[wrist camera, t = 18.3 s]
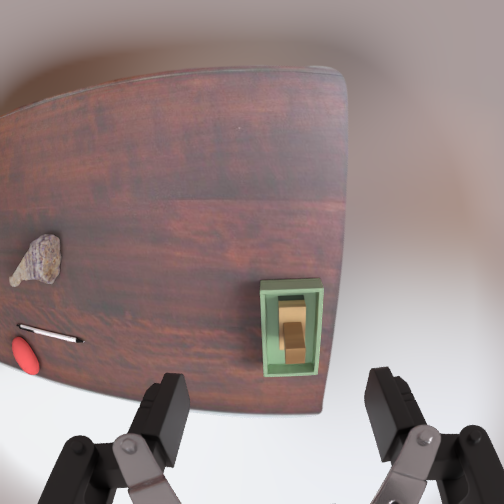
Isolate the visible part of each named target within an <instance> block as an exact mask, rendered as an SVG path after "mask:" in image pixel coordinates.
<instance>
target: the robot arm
mask: <svg viewBox="0 0 504 504" xmlns="http://www.w3.org/2000/svg"><path fill="white" fill-rule="evenodd" d="M364 399H365V400H364V401H365V407H366V410H367V413H368V416H369V420H370V423H371V426H372V429H373V433H374V436H375V440H376V443H377V447H378V450H379V454H380V457H381V461H382V462H387V461H391V465H392V467H391V469H390V471H389V473H388V474H387V476H386V478H385V480H384V482H383V483H382V485H381V487H380V489H379V490H378V492H377V494H376V496H375V497H374V499H373V500H372V502H371V503H370V504H418V503H419V501H420V499H421V497H422V495H423V492H424V490H425V488H426V485H427V481H426V480H436V482H437V486H438V489H439V492H440V496H441V500H442V504H504V469H503V467H502V464H501V462H500V460H499V458H498V455H497V453H496V451H495V449H494V447H493V445H492V443H491V440H490V438H489V436H488V434H487V432H486V431H485V430H484V429H483V428H482V427H480V426H476V425H469V426H466V427H465V428H463V429H462V430H461V432H460V434H441V433H439V431H438V430H437V429H436V428H434V427H432V426H429V425H427V423H426V421H425V419H424V417H423V415H422V413H421V410H420V408H419V406H418V404H417V402H416V400H415V398H414V396H413V394H412V393H411V390H410V388H409V386H408V384H407V382H405V381H404V380H403V379H402V378H400V376H397V377H393V375H392V373H391V371H390V369H389V368H388V367H380V368H372V369H371V370H370V373H369V377H368V382H367V386H366V390H365V395H364ZM189 409H190V398H189V394H188V390H187V386H186V382H185V378H184V375H183V374H177V373H165V374H164V377H163V379H162V381H161V384H159V383H154V384H153V385H152V386H151V387H150V388H149V389H147V390H146V393H145V395H144V397H143V401H141V404H140V408H138V411H137V413H136V415H135V417H134V420H133V422H132V424H131V427H130V429H129V431H128V433H127V434H123V435H121V436H119V437H118V438H117V439H116V440H115V441H114V442H113V443H101V444H94V443H93V442H92V441H91V440H90V439H89V438H88V437H86V436H81V435H79V436H74V437H72V438H70V439H69V440H68V441H67V442H66V443H65V445H64V447H63V449H62V451H61V453H60V455H59V457H58V459H57V461H56V464H55V466H54V468H53V470H52V472H51V474H50V477H49V479H48V481H47V483H46V486H45V488H44V490H43V492H42V495H41V497H40V499H39V502H38V504H112V503H113V499H114V496H115V492H116V489H117V488H127V487H128V488H129V489H128V493H129V495H130V498H131V500H132V502H133V504H181V502H180V501H179V499H178V497H177V496H176V494H175V493H174V491H173V489H172V488H171V486H170V484H169V483H168V481H167V479H166V478H165V476H164V475H163V473H164V469H165V467H172V468H173V467H174V464H175V461H176V457H177V453H178V449H179V446H180V442H181V439H182V435H183V431H184V428H185V424H186V421H187V417H188V413H189Z"/></svg>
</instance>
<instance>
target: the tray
mask: <svg viewBox="0 0 504 504" xmlns="http://www.w3.org/2000/svg"><path fill="white" fill-rule="evenodd" d="M323 291H324V288H323V285H322V283H321V280H320V278H311V279H285V280H261V281H260V305H261V327H262V349H263V372H264V377H281V376H303V375H317V374H318V364H319V352H320V340H321V326H322V310H323ZM287 295H304V299H305V304H306V327H305V346H306V354H305V363H301V364H285V351H284V350H279V325H278V296H287Z"/></svg>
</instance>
